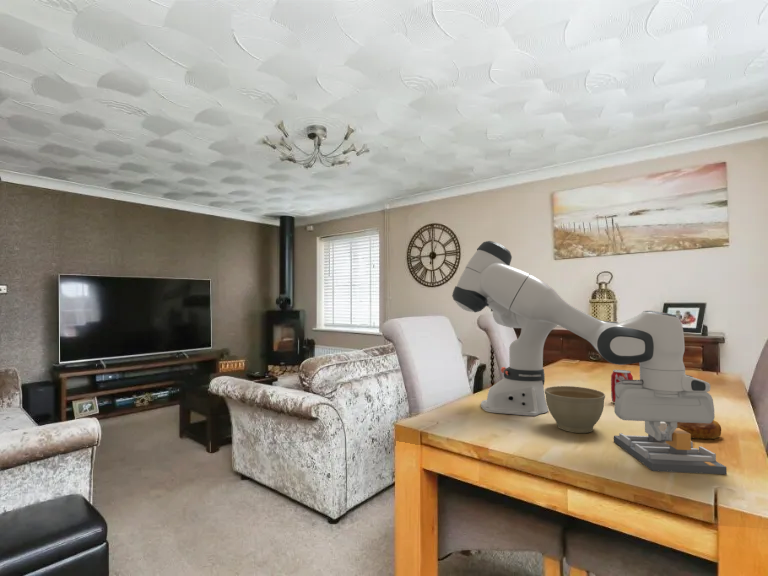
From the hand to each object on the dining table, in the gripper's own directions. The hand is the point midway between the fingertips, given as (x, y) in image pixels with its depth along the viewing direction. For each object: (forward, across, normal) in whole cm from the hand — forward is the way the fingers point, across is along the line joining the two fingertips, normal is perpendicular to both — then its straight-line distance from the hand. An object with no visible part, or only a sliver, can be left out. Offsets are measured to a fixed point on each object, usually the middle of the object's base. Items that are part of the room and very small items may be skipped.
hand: (663, 440), depth 94 cm
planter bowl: (+5, -12, +24) cm, 27 cm away
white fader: (+3, +2, +8) cm, 9 cm away
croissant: (+6, +19, +24) cm, 31 cm away
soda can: (+5, +16, +57) cm, 60 cm away
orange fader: (+3, +3, 0) cm, 5 cm away
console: (+5, +2, +4) cm, 7 cm away
